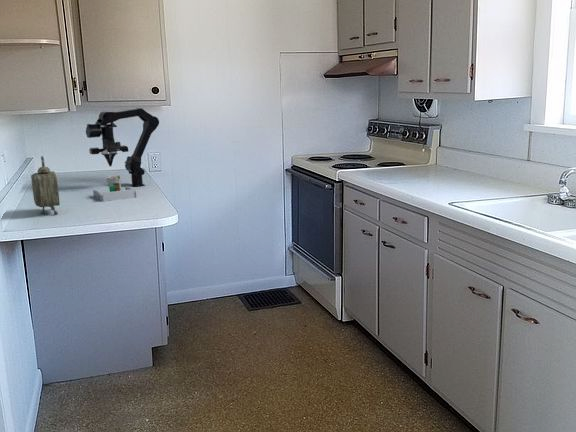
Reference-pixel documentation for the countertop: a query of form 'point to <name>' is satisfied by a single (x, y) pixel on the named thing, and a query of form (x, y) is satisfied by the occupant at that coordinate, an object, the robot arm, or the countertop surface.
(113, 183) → the food container
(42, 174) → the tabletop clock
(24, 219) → the countertop surface
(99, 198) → the frame
